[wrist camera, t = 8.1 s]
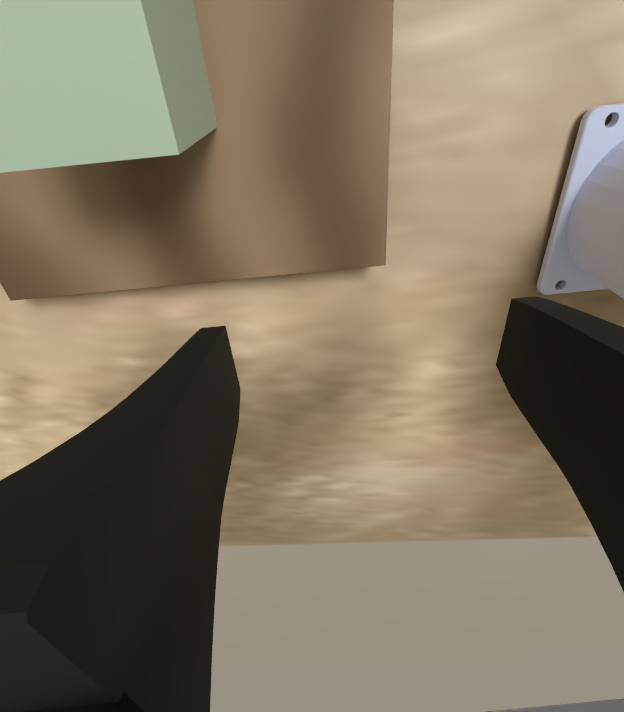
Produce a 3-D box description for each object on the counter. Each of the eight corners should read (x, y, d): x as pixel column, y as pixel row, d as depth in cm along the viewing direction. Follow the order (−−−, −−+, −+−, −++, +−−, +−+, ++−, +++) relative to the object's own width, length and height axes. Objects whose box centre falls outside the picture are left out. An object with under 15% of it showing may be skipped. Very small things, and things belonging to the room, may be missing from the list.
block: (186, -34, 11) (111, -118, 6) (217, 126, 14) (179, 154, 9) (47, -19, 11) (-133, -93, 6) (101, 138, 14) (-1, 172, 9)
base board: (387, -412, 9) (409, -516, 8) (376, 248, 19) (385, 265, 17) (-291, -348, 9) (-412, -438, 8) (35, 280, 19) (10, 300, 17)
